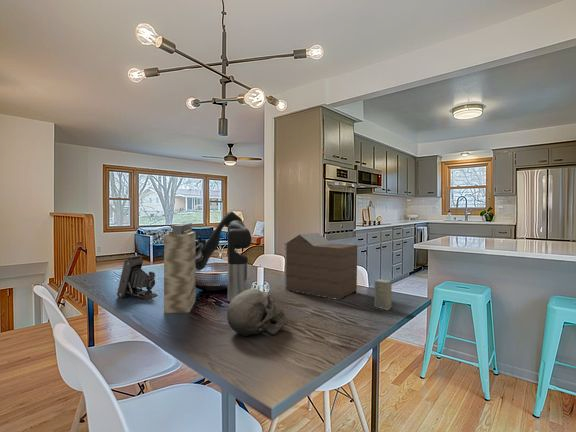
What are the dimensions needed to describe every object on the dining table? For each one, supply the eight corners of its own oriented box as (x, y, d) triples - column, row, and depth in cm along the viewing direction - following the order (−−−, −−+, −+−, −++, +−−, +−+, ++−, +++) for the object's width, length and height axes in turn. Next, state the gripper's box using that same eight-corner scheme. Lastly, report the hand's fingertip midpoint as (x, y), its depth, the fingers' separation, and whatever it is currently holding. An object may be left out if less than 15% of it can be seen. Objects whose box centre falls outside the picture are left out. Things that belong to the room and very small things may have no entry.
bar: (191, 230, 155) (191, 223, 154) (181, 234, 129) (181, 225, 129) (184, 230, 154) (184, 223, 154) (172, 234, 128) (172, 225, 128)
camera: (144, 308, 146) (155, 266, 145) (113, 296, 149) (124, 255, 148) (158, 301, 157) (168, 263, 156) (129, 291, 160) (139, 253, 159)
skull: (297, 322, 106) (255, 283, 102) (263, 361, 103) (219, 322, 99) (286, 310, 119) (248, 275, 115) (256, 344, 116) (216, 310, 112)
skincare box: (391, 308, 138) (392, 280, 138) (387, 311, 135) (387, 282, 135) (378, 305, 142) (378, 278, 142) (373, 307, 139) (374, 280, 139)
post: (195, 301, 146) (195, 229, 145) (189, 312, 130) (190, 231, 129) (172, 301, 144) (172, 229, 144) (163, 313, 128) (164, 231, 128)
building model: (301, 283, 186) (302, 231, 185) (356, 292, 166) (357, 234, 165) (282, 289, 170) (283, 233, 170) (340, 300, 150) (341, 237, 150)
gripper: (181, 244, 175) (176, 231, 161) (207, 244, 177) (205, 231, 163) (180, 257, 172) (174, 244, 158) (207, 256, 174) (204, 244, 160)
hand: (190, 237), depth 160 cm, fingers open, 8 cm apart
